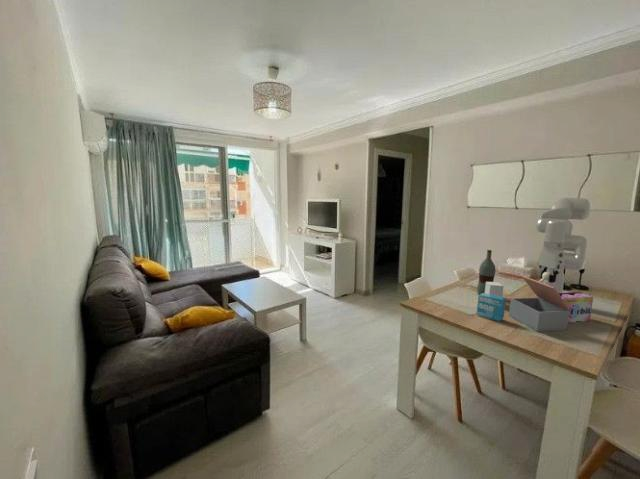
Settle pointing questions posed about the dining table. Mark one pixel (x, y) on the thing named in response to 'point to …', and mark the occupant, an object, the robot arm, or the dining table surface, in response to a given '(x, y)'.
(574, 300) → the gum box
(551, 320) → the carton
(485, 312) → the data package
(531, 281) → the lid flap
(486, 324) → the dining table surface
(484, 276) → the bottle
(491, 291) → the supplement box
